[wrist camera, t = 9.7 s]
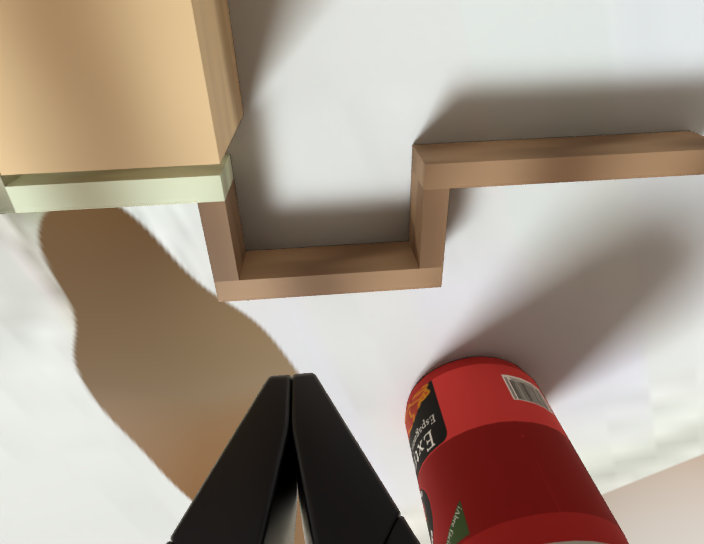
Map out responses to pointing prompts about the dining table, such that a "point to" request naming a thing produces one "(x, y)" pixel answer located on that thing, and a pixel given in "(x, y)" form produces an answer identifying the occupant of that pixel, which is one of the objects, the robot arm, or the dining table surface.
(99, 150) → the block
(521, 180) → the channel
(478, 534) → the canned food
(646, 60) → the dining table surface
